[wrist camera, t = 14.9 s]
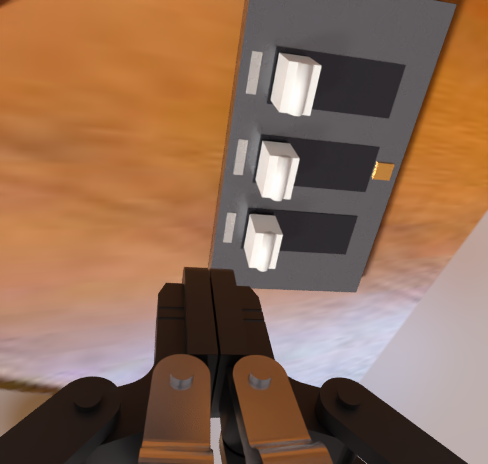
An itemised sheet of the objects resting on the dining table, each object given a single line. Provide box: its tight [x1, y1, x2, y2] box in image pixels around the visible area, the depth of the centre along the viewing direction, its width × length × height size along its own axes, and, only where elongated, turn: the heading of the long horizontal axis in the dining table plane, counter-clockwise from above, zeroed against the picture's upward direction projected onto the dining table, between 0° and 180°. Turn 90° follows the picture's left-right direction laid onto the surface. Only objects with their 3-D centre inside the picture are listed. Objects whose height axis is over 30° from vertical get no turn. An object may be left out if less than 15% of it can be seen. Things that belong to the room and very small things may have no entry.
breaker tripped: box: [256, 141, 300, 201], centre depth 37 cm, size 4×2×4 cm, turn 171°
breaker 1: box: [244, 214, 283, 272], centre depth 40 cm, size 4×2×4 cm, turn 171°
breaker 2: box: [271, 53, 321, 116], centre depth 34 cm, size 4×2×4 cm, turn 171°
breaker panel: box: [208, 0, 457, 292], centre depth 41 cm, size 28×16×2 cm, turn 171°
